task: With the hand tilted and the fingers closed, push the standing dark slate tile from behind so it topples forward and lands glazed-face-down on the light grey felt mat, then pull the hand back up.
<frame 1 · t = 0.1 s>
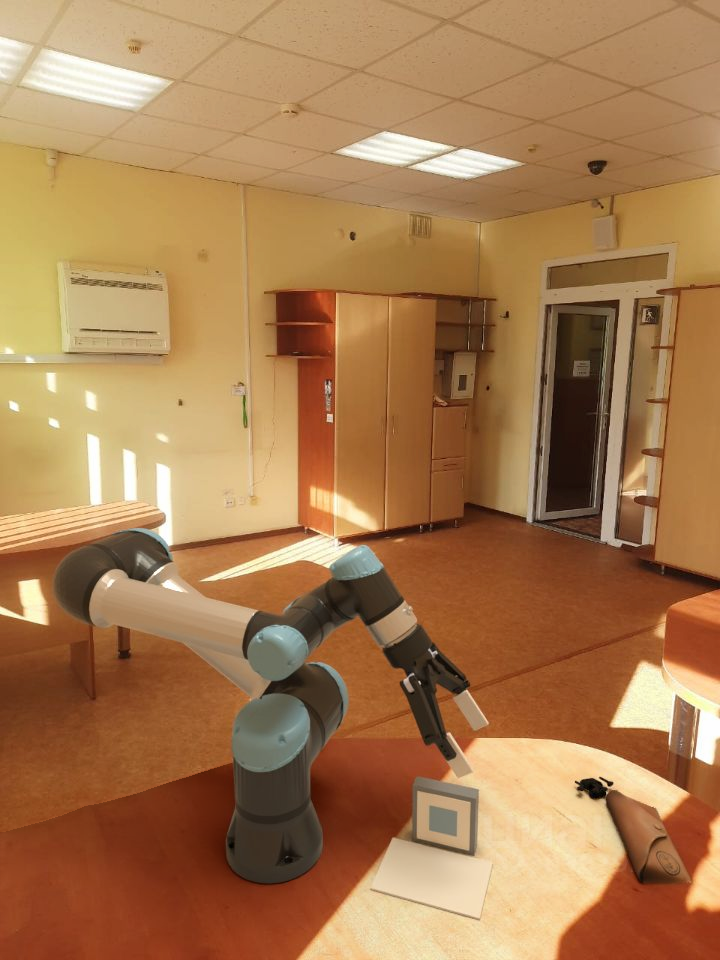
hand: (474, 749, 108), 15 cm above the table, tool tilted 35°, fingers open, 13 cm apart
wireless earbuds: (593, 793, 122), on the table
slate tile: (444, 843, 109), on the table
felt mat: (433, 876, 102), on the table
sunglasses case: (645, 845, 110), on the table
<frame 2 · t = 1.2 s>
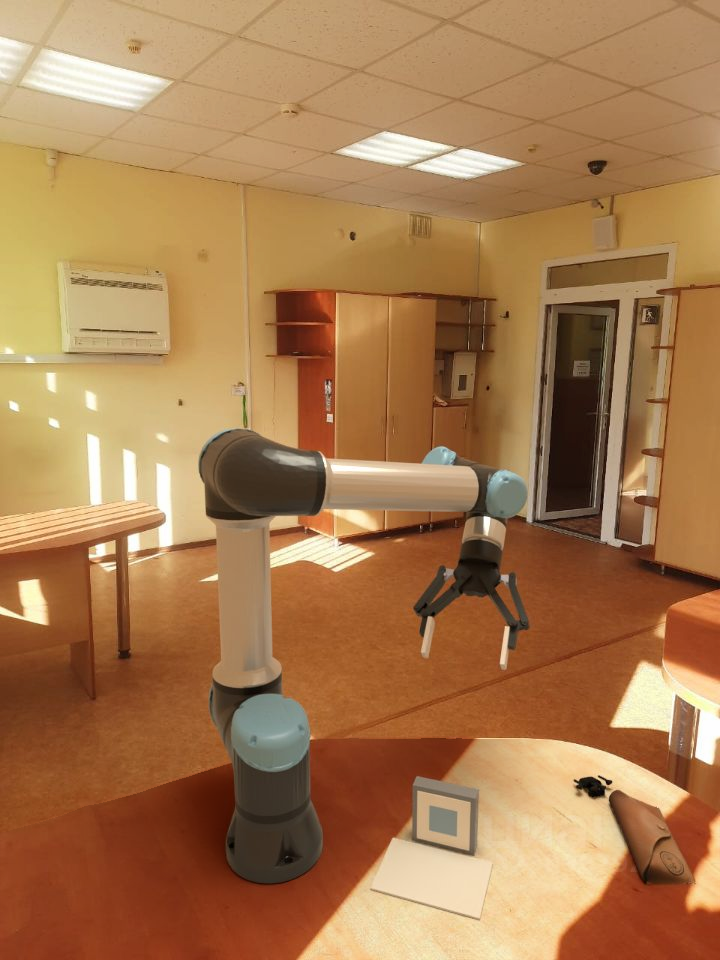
hand: (462, 661, 114), 26 cm above the table, tool tilted 45°, fingers open, 12 cm apart
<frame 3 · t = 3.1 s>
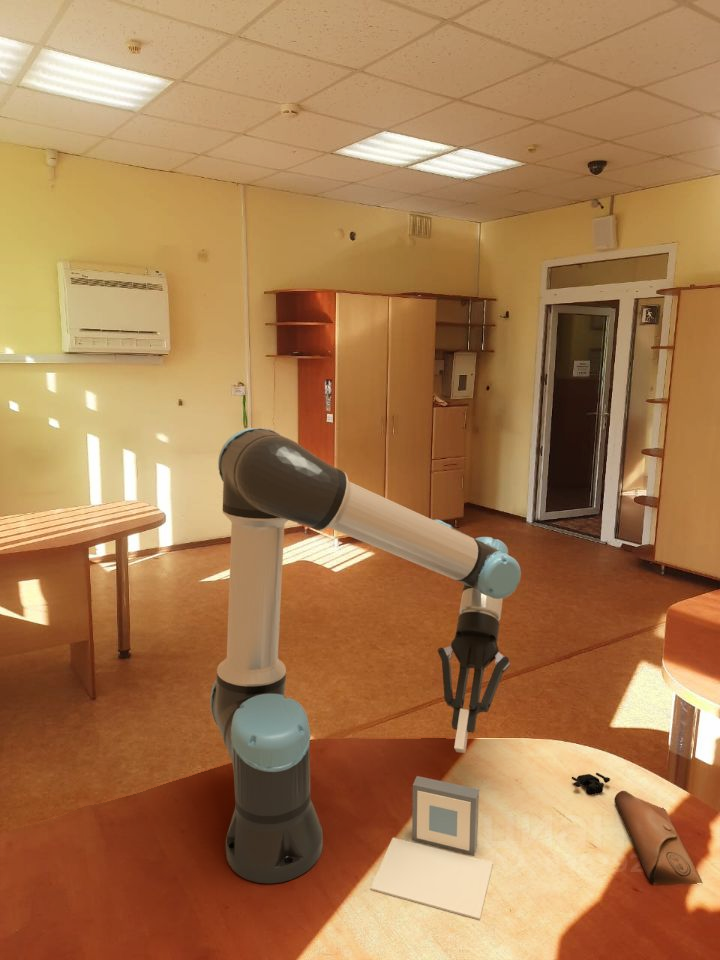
hand: (459, 750, 114), 12 cm above the table, tool tilted 45°, fingers closed
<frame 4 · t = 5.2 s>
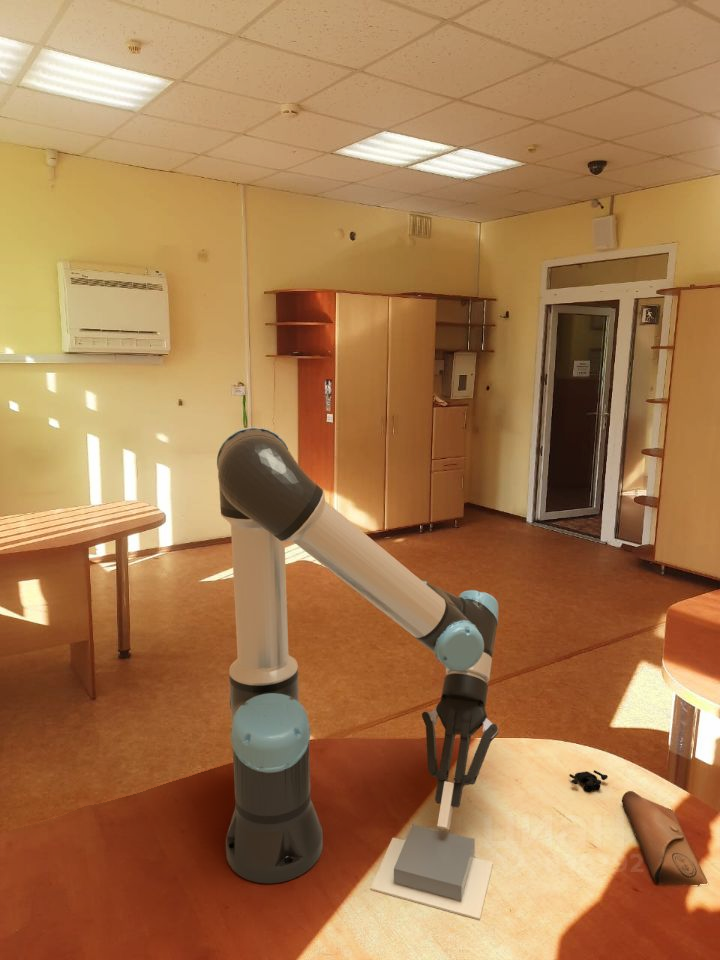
hand: (443, 828, 106), 4 cm above the table, tool tilted 45°, fingers closed
slate tile: (443, 838, 108), point 2 cm above the table, tilted 90°, touching felt mat
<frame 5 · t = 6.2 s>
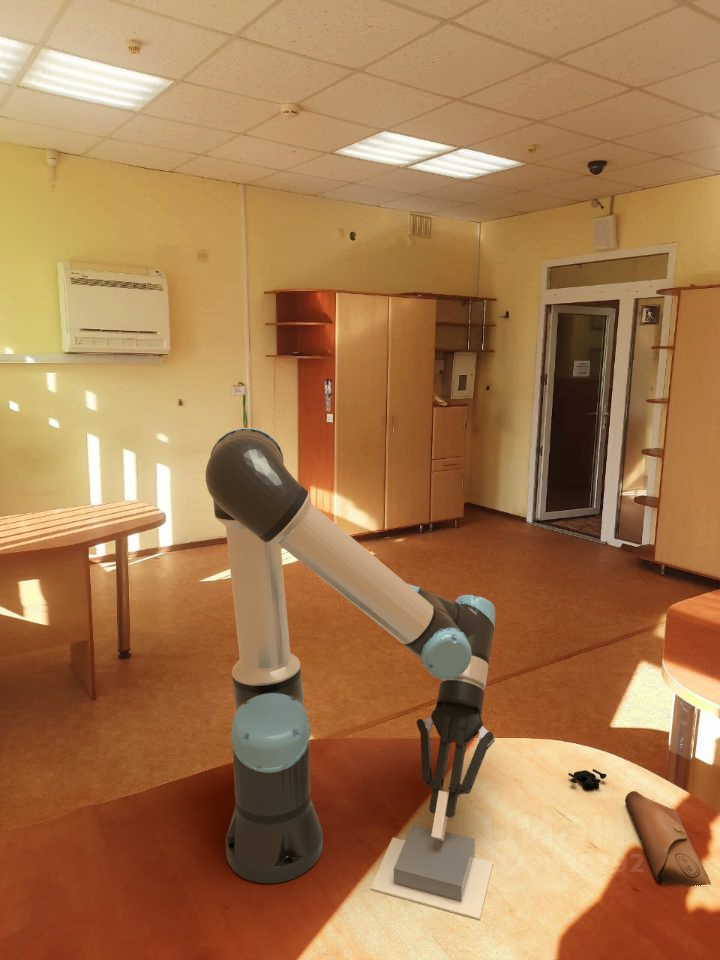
hand: (437, 838, 104), 5 cm above the table, tool tilted 45°, fingers closed
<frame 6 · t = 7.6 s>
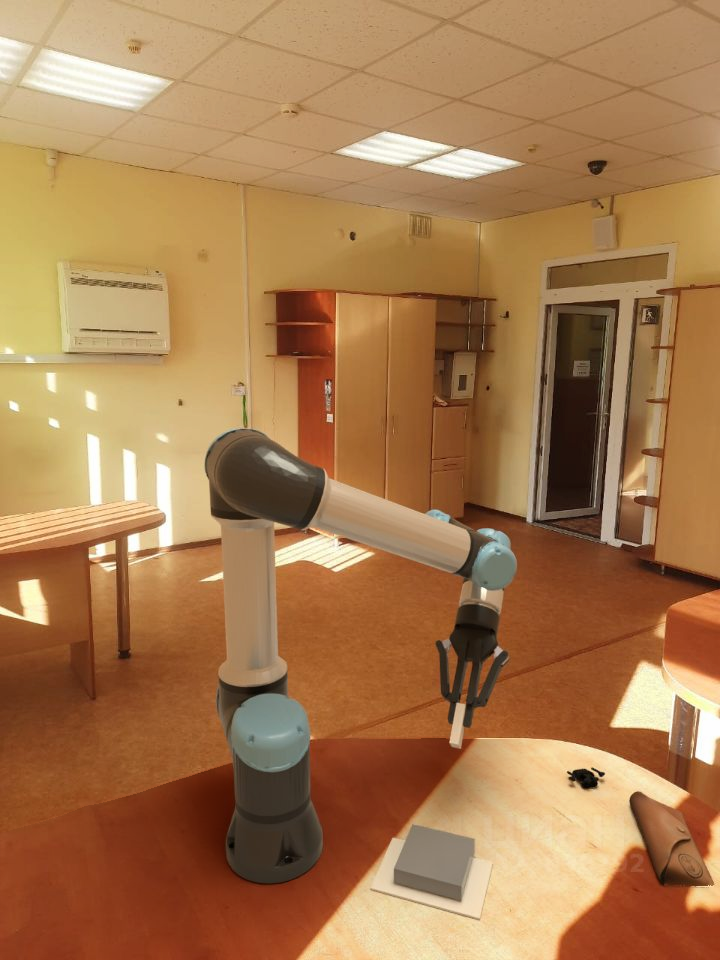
hand: (455, 745, 111), 14 cm above the table, tool tilted 45°, fingers closed
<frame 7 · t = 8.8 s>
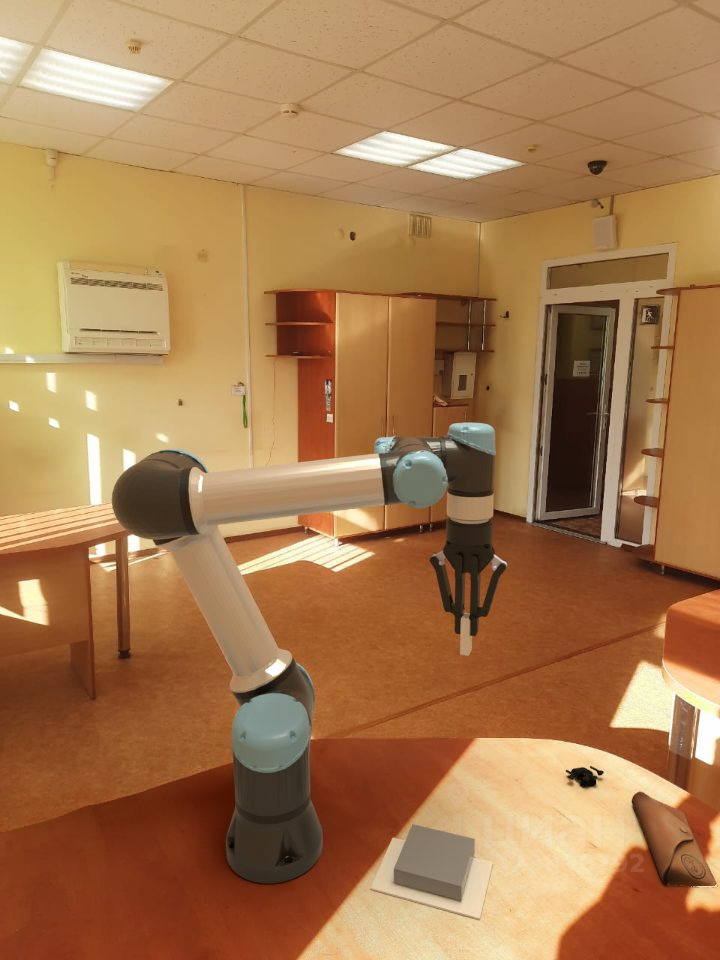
hand: (465, 651, 117), 26 cm above the table, tool pointing down, fingers closed
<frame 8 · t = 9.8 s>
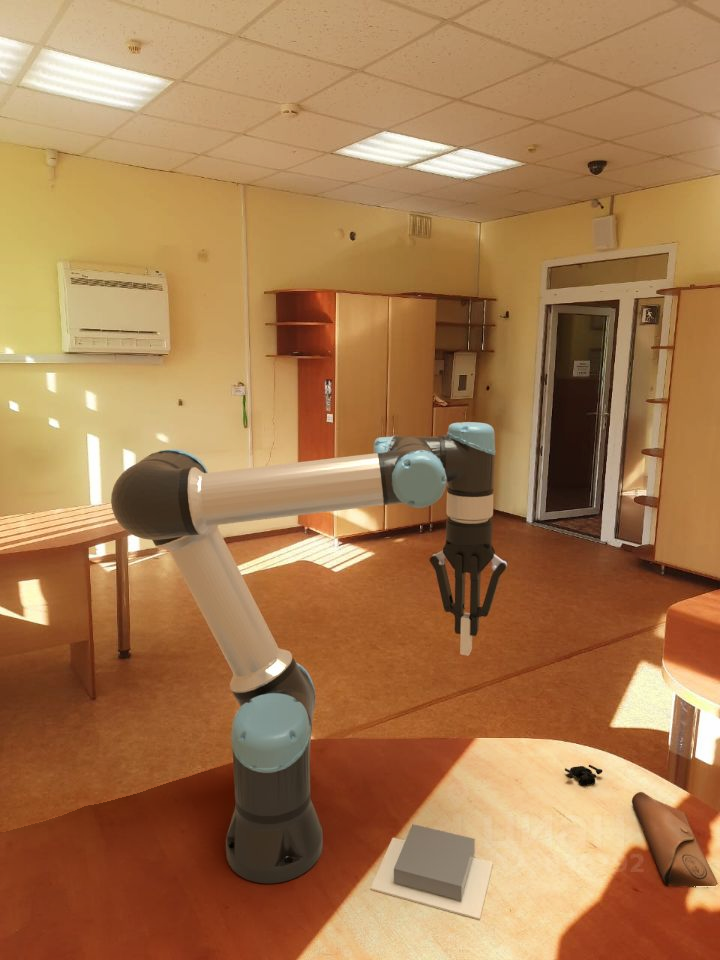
hand: (466, 651, 117), 26 cm above the table, tool pointing down, fingers closed
at the end: slate tile tilted 90°; slate tile inside the target area (3.8 cm from its centre), point 1.7 cm above the table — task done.
